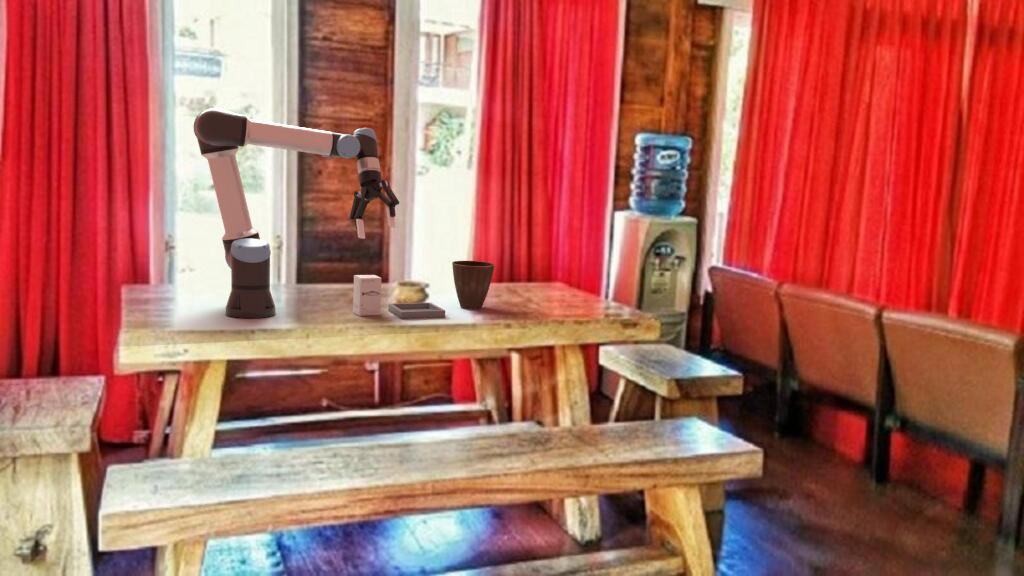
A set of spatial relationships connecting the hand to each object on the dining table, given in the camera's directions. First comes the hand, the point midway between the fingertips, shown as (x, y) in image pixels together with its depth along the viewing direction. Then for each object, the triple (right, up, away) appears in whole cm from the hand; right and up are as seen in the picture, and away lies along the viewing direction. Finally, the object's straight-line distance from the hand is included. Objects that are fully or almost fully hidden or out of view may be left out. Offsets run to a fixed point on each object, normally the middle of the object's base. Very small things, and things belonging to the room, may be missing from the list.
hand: (376, 232), depth 270 cm
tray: (+13, -27, 0) cm, 30 cm away
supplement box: (-3, -27, -4) cm, 28 cm away
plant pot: (+31, -26, +16) cm, 44 cm away
